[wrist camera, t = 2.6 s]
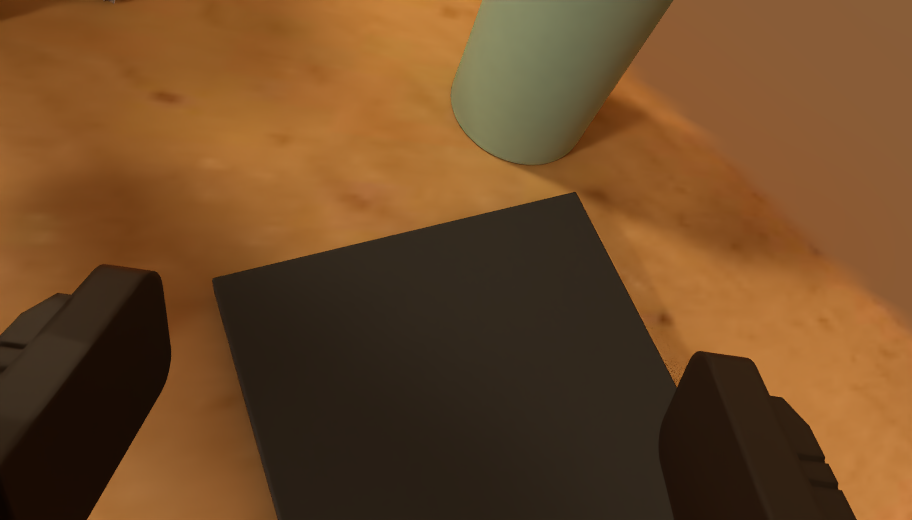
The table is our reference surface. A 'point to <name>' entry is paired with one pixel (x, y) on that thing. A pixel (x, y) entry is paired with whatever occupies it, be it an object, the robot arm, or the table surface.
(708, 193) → the table surface
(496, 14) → the bottle
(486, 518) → the coaster
